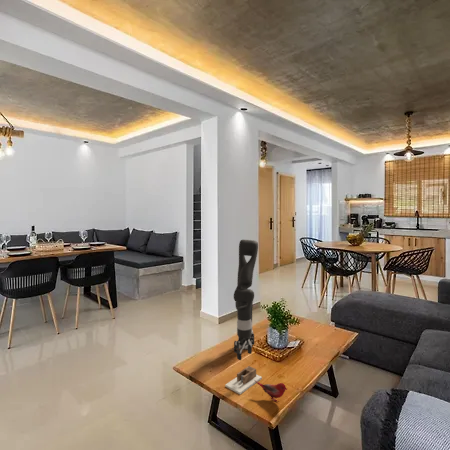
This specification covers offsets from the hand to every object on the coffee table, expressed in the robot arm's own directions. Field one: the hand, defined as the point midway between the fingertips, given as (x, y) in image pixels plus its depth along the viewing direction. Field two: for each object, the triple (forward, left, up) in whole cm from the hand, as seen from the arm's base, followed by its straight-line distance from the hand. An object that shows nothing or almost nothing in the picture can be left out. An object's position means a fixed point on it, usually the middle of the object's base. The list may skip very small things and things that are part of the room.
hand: (244, 356), depth 162 cm
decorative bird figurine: (+4, +19, -13) cm, 23 cm away
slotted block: (0, +1, -12) cm, 12 cm away
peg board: (+2, +1, -13) cm, 13 cm away
